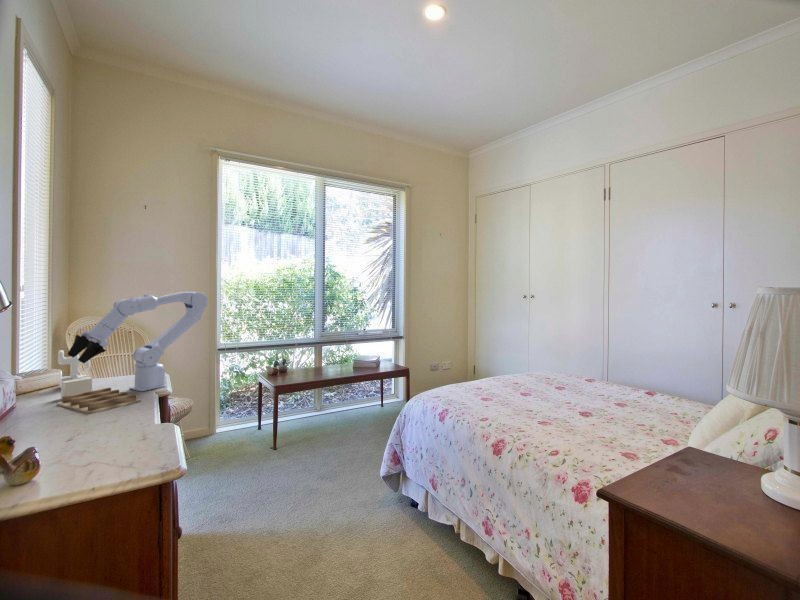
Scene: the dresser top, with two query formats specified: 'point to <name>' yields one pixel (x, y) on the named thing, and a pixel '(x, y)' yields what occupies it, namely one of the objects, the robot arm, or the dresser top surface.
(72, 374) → the figurine
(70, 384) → the cream slab
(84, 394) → the dish rack
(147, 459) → the dresser top surface
